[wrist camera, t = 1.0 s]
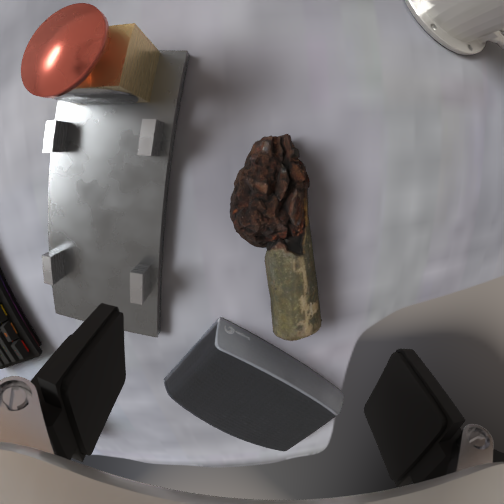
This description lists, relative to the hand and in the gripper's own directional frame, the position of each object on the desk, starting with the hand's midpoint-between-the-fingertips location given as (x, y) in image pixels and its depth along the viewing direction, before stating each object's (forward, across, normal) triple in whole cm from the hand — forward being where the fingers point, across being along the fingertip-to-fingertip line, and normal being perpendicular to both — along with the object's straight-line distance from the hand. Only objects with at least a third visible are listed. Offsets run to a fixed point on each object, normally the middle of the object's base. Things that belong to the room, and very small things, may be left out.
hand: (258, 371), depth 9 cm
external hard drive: (+20, -4, +19) cm, 28 cm away
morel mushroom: (+20, -2, 0) cm, 20 cm away
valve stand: (+19, +15, -2) cm, 24 cm away
